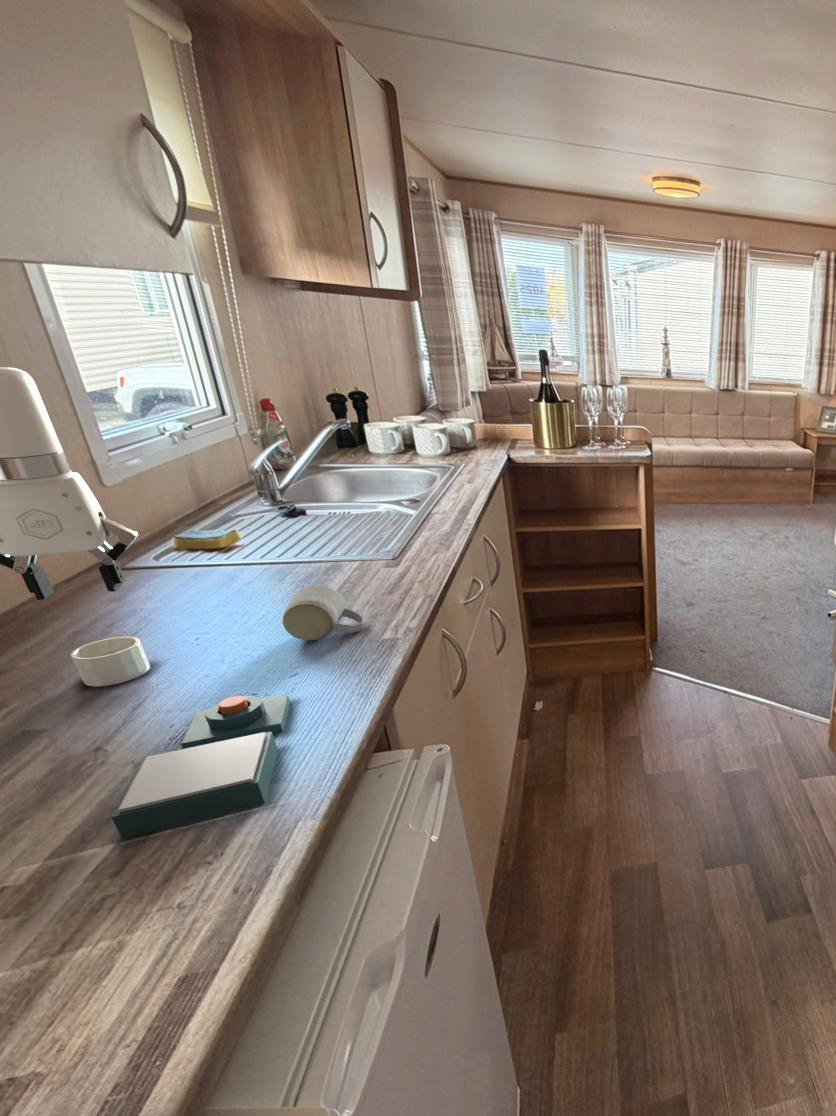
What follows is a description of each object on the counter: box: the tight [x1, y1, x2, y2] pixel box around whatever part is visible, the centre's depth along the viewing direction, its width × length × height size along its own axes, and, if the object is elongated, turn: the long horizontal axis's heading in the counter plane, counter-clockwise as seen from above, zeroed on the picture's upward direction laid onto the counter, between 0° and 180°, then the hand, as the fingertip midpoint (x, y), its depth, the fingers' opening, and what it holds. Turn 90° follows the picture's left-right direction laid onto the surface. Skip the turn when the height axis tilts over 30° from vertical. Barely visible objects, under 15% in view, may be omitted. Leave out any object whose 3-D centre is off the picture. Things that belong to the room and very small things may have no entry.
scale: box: [111, 732, 279, 839], centre depth 74 cm, size 12×11×3 cm
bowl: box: [70, 636, 151, 687], centre depth 95 cm, size 7×7×5 cm
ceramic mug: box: [282, 584, 365, 642], centre depth 110 cm, size 11×8×8 cm
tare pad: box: [180, 694, 291, 749], centre depth 85 cm, size 10×8×3 cm
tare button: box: [217, 695, 248, 715], centre depth 85 cm, size 3×3×1 cm
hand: (81, 591), depth 91 cm, fingers open, 6 cm apart
